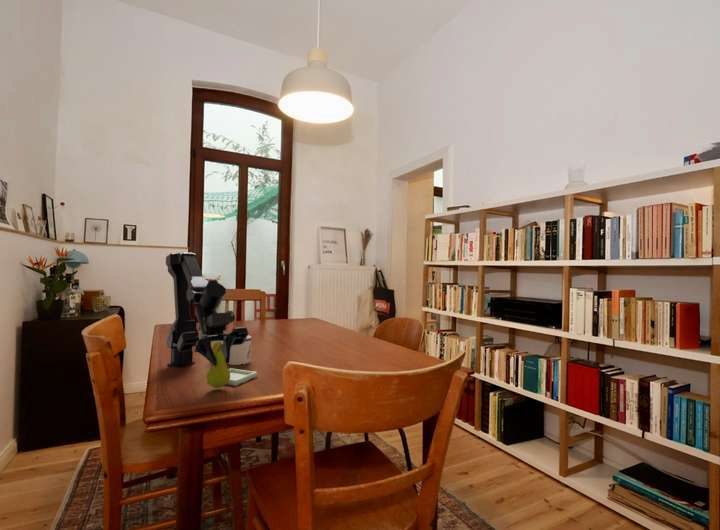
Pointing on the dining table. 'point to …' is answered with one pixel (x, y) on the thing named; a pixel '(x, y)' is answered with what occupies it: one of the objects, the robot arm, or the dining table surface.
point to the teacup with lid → (241, 352)
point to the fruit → (218, 371)
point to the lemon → (216, 347)
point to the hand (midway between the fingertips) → (221, 363)
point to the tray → (240, 376)
